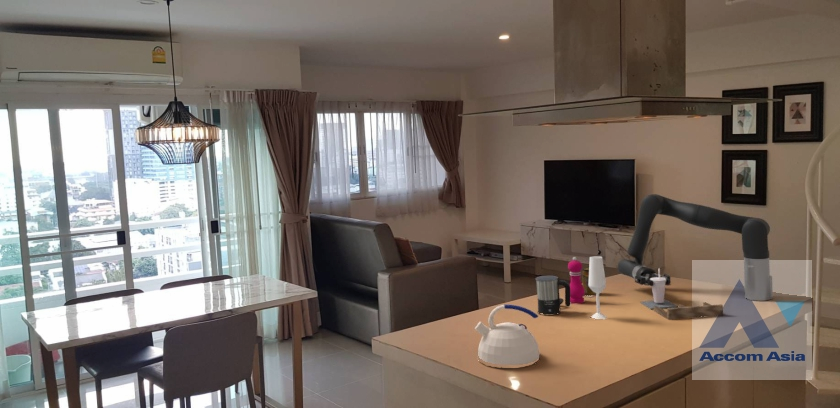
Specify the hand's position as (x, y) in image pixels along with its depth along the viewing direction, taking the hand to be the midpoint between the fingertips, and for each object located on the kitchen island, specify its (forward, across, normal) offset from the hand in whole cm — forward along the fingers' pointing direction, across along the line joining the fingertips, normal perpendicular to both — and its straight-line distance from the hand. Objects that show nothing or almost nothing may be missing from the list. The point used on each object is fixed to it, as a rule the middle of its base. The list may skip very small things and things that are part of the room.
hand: (660, 283), depth 244 cm
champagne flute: (+9, -29, +10) cm, 32 cm away
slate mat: (-2, 0, +10) cm, 10 cm away
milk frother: (-7, -44, +10) cm, 46 cm away
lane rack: (+12, +5, +10) cm, 16 cm away
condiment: (-29, -21, +10) cm, 38 cm away
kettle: (+48, -72, +10) cm, 87 cm away
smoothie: (-2, 0, +9) cm, 9 cm away
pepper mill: (-17, -30, +10) cm, 36 cm away
